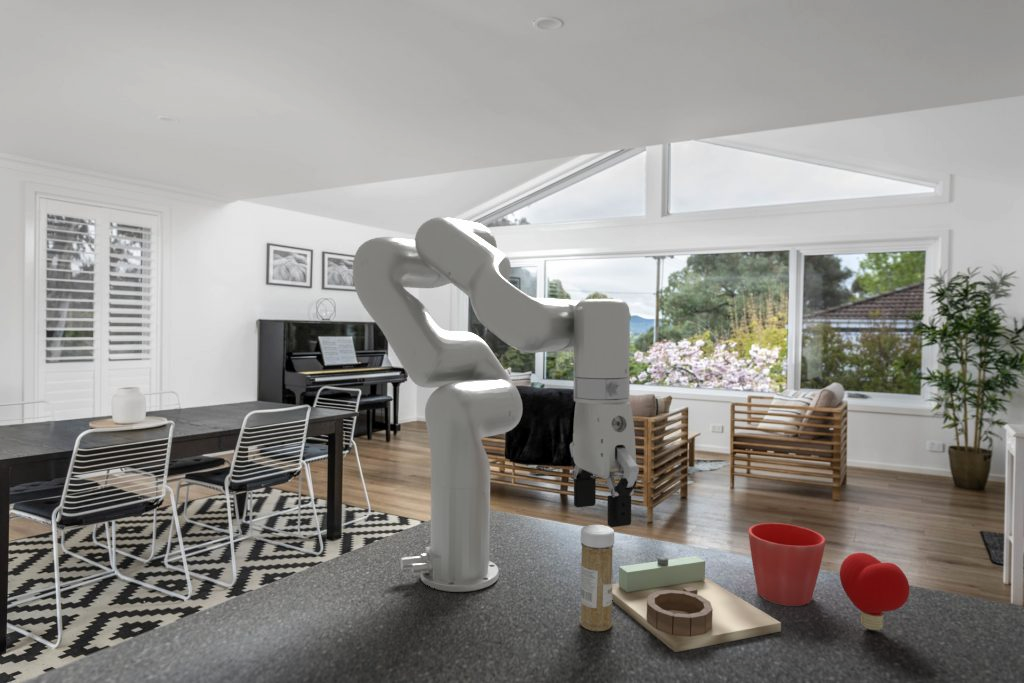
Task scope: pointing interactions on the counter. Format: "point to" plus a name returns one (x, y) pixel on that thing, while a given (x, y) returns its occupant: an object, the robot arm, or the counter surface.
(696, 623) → the board
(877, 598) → the red heart figurine
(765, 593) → the flower pot
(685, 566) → the bar
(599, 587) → the sprinkles bottle
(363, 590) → the counter surface
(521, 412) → the robot arm
